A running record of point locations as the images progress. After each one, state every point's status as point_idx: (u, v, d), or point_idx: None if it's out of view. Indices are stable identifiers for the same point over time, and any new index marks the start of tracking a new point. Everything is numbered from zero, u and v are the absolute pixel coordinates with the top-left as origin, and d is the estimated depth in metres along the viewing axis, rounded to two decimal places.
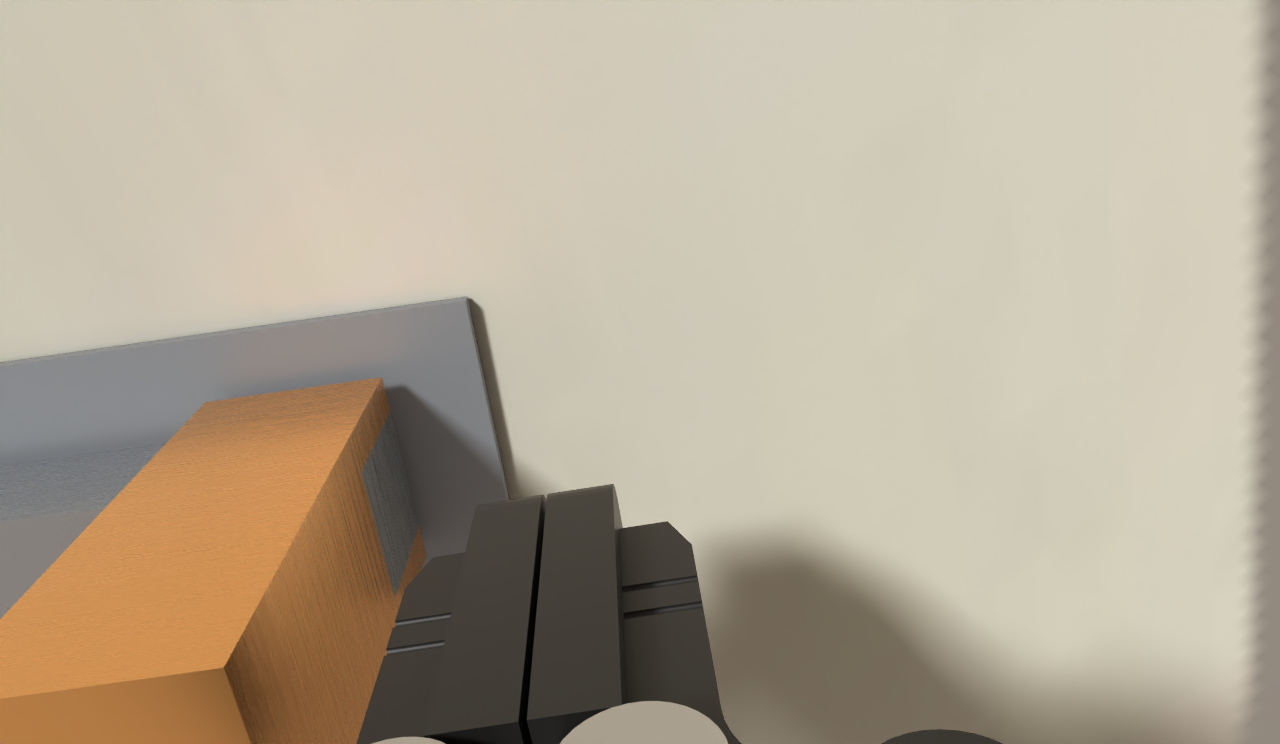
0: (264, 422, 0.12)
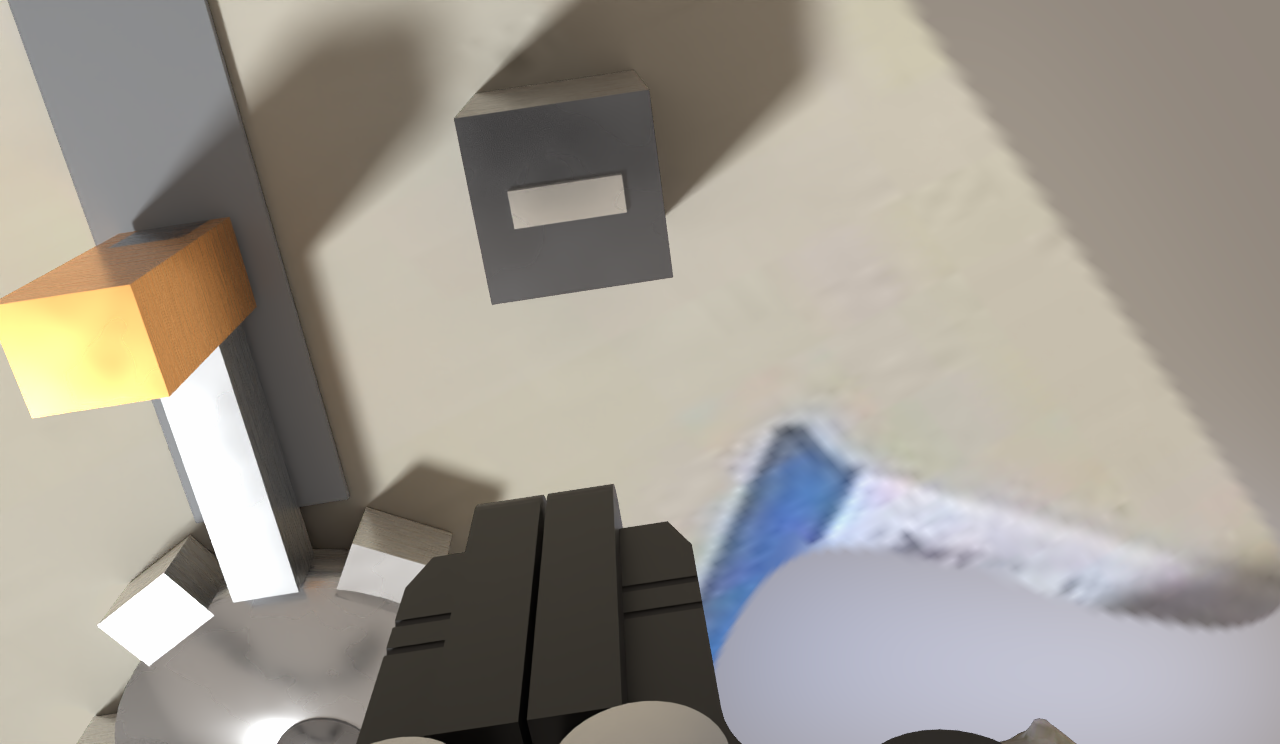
0: None
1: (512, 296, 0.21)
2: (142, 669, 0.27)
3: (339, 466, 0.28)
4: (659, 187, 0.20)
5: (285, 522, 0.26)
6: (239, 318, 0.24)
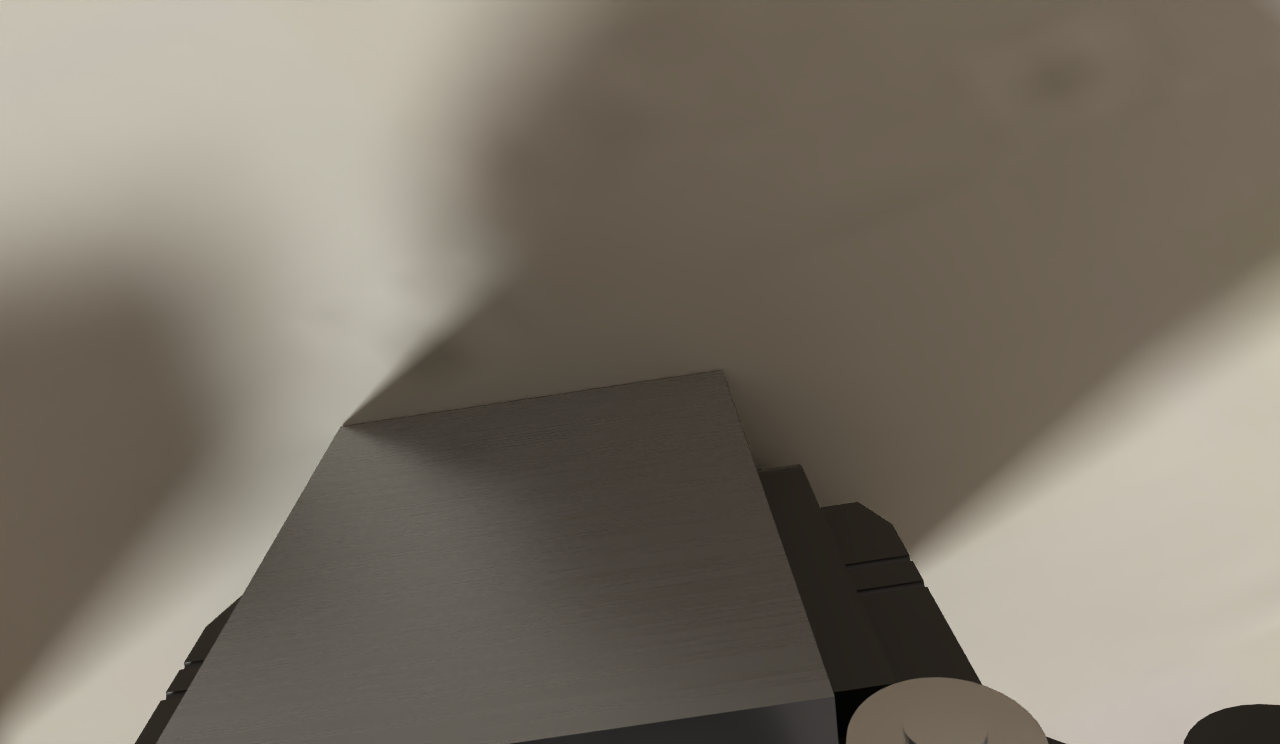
0: None
1: None
2: None
3: None
4: None
5: None
6: None
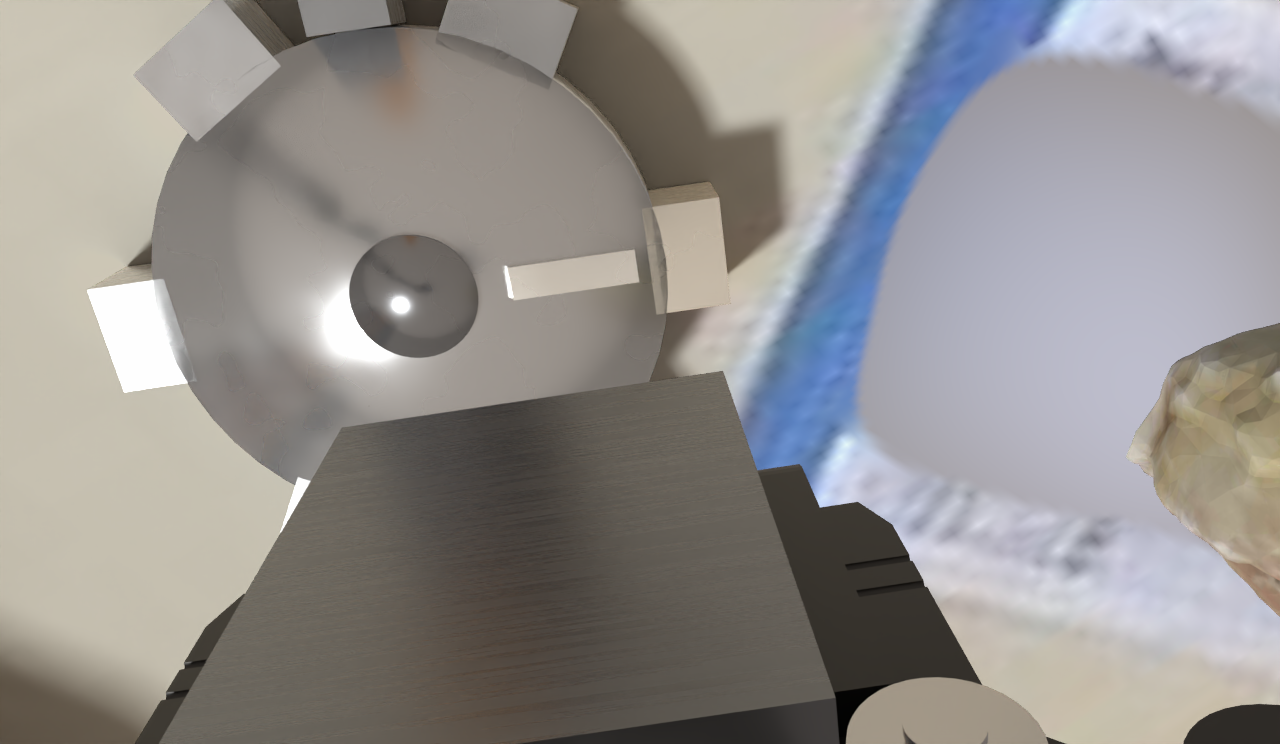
0: None
1: None
2: (188, 146, 0.21)
3: None
4: None
5: None
6: None
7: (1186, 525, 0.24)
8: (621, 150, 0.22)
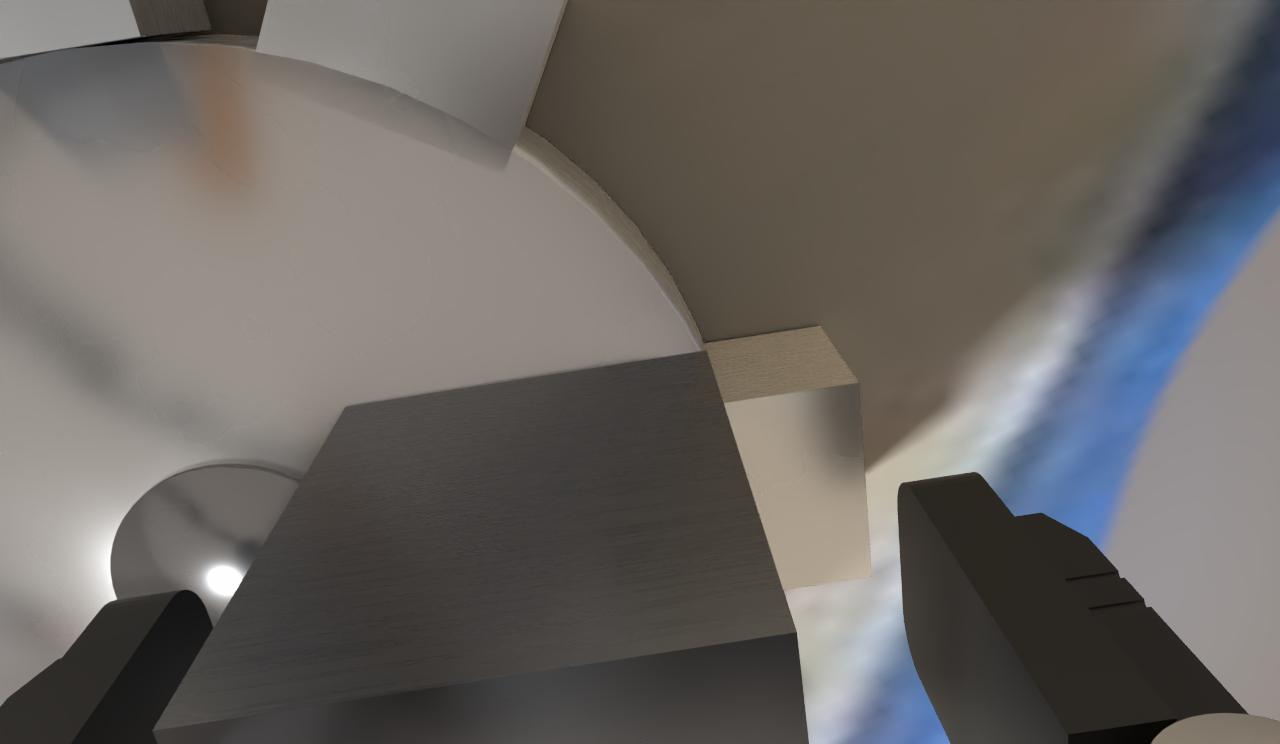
0: None
1: None
2: None
3: None
4: None
5: None
6: None
7: None
8: (660, 294, 0.10)
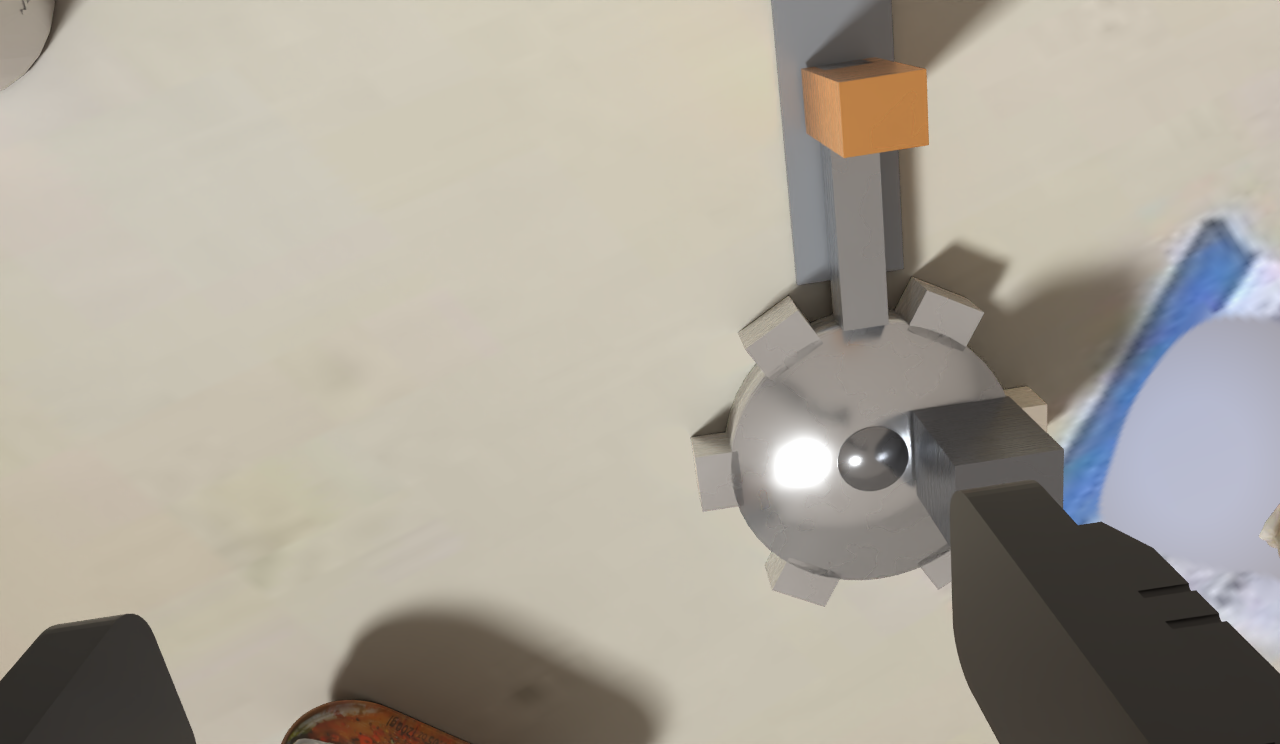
0: (809, 106, 0.36)
1: None
2: (766, 384, 0.39)
3: (902, 244, 0.39)
4: (1062, 497, 0.36)
5: None
6: None
7: None
8: (997, 381, 0.40)
